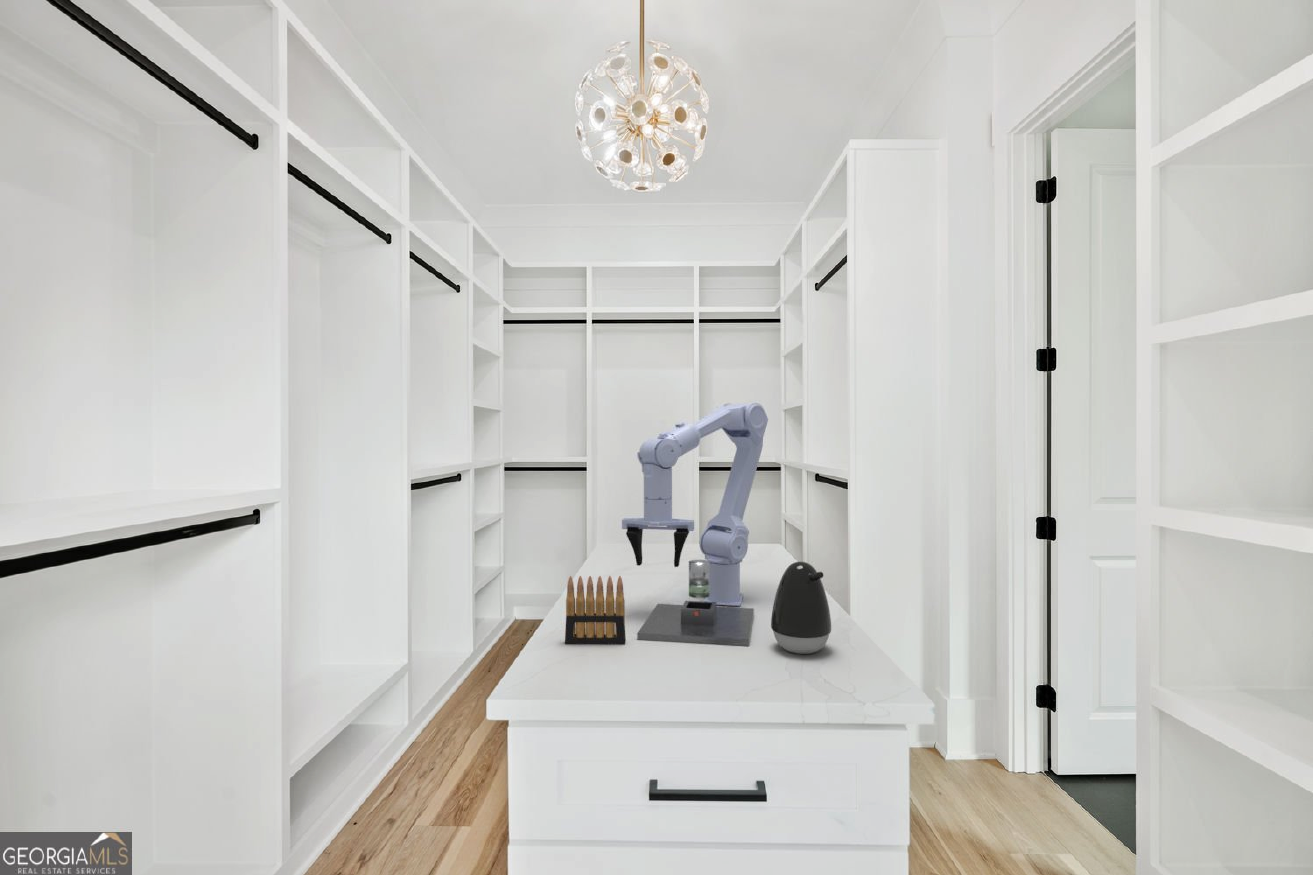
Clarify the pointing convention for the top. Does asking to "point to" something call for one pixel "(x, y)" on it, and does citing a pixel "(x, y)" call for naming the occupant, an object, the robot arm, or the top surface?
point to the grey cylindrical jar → (699, 578)
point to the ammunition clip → (595, 614)
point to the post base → (698, 624)
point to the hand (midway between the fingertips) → (657, 565)
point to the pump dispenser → (801, 610)
